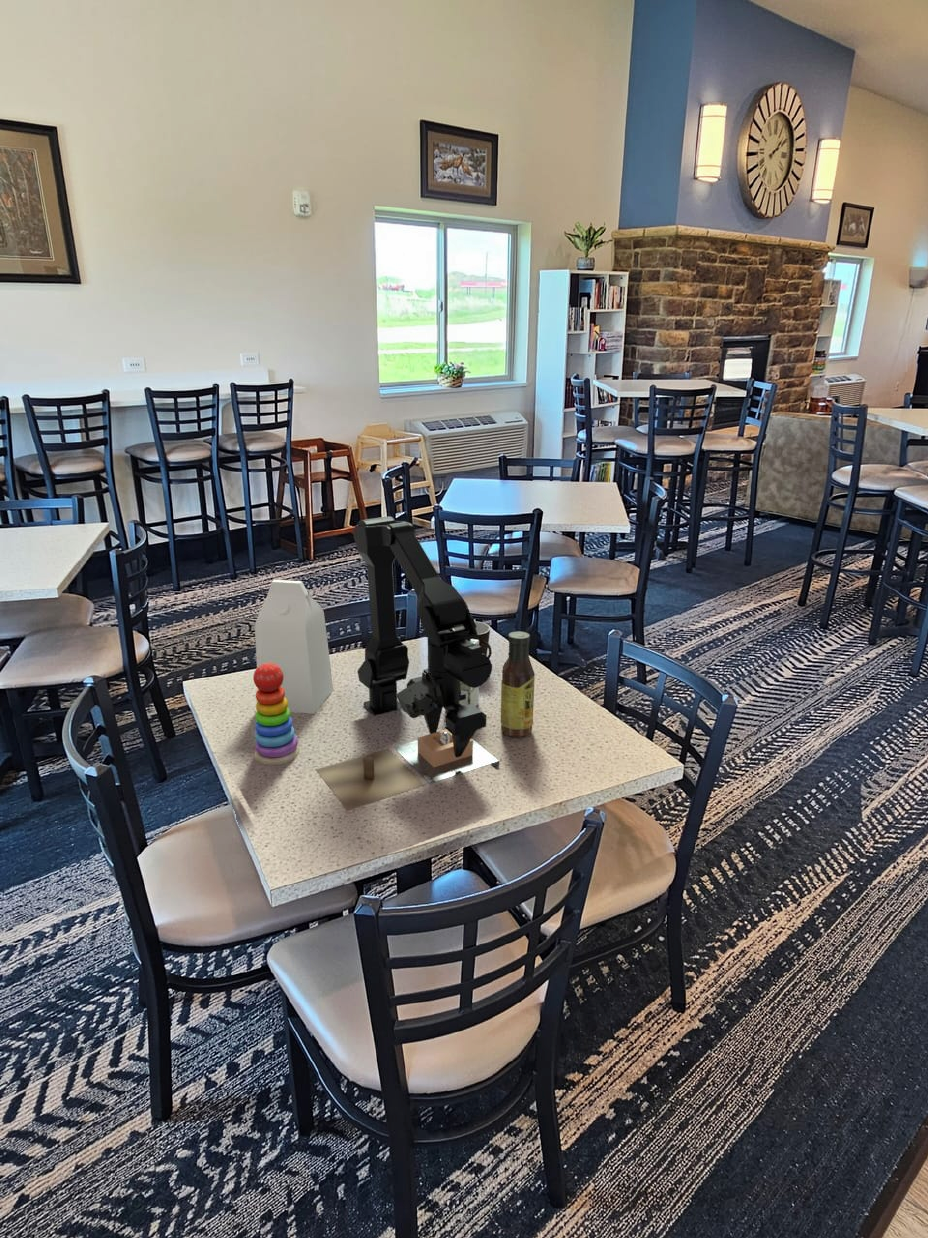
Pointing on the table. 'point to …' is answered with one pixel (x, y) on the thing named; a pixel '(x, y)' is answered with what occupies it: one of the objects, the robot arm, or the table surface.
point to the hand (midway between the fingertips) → (445, 745)
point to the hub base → (448, 769)
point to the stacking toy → (273, 718)
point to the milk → (295, 644)
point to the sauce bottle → (517, 687)
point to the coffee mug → (481, 636)
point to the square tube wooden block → (440, 749)
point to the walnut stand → (368, 778)
